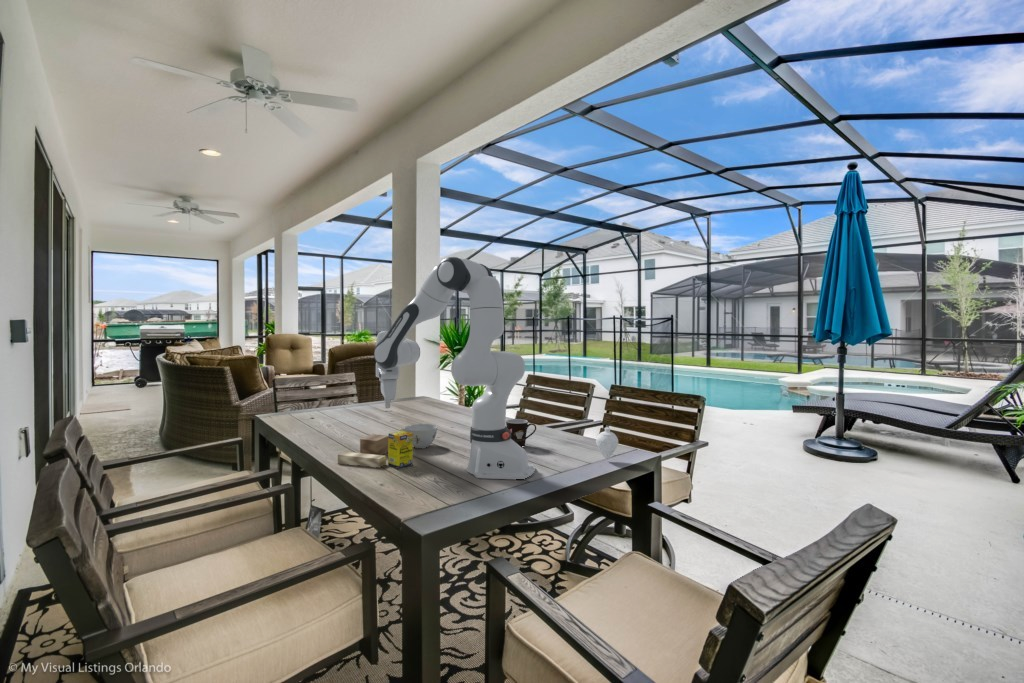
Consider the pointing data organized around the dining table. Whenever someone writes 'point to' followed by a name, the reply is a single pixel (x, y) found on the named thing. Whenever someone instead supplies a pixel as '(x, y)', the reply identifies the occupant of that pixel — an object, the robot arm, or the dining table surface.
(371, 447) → the block
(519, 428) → the coffee mug
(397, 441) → the supplement box
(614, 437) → the spinning top
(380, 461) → the beige long bar
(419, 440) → the teacup
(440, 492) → the dining table surface
